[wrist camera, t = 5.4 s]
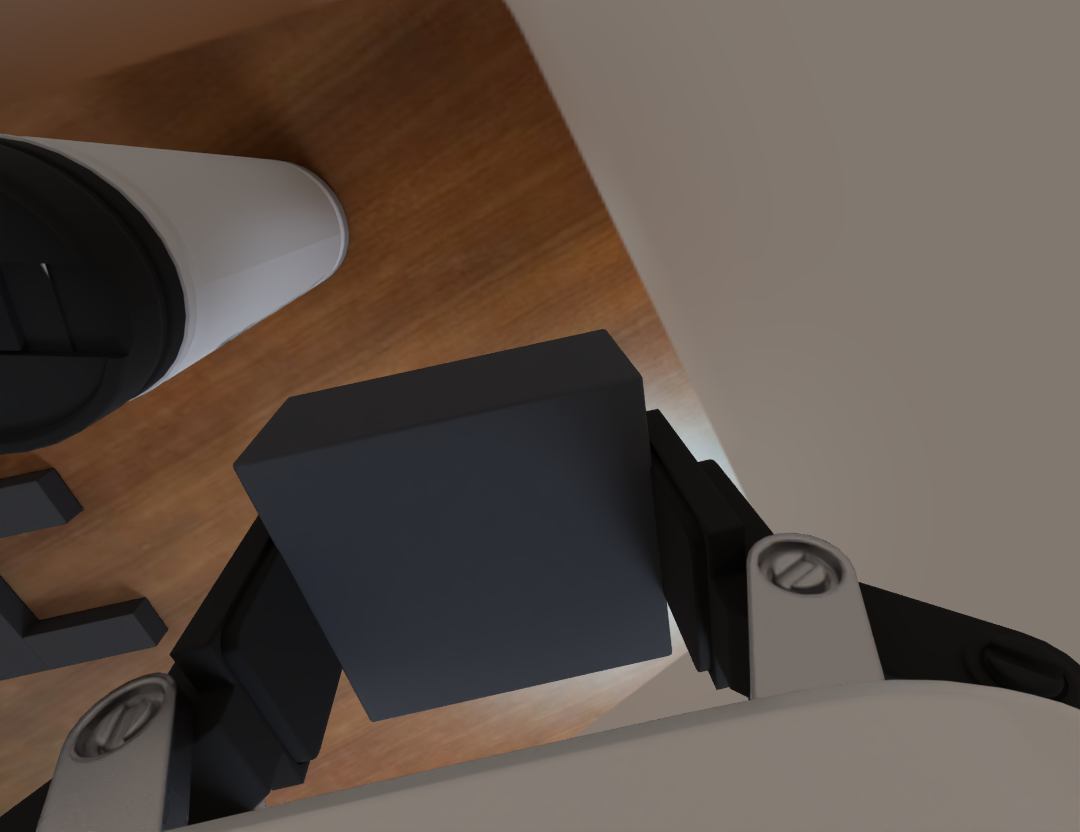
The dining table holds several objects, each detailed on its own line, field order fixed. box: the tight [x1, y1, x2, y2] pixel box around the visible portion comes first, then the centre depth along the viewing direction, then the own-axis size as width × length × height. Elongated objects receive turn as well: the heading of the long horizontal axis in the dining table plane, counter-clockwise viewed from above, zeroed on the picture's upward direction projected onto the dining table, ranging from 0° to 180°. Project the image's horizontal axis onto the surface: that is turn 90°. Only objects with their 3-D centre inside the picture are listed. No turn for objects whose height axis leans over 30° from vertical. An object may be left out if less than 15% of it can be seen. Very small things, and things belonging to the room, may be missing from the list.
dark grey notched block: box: [0, 469, 168, 680], centre depth 34 cm, size 14×14×2 cm
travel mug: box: [0, 134, 349, 455], centre depth 18 cm, size 6×7×20 cm
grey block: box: [233, 329, 672, 722], centre depth 10 cm, size 6×6×3 cm
